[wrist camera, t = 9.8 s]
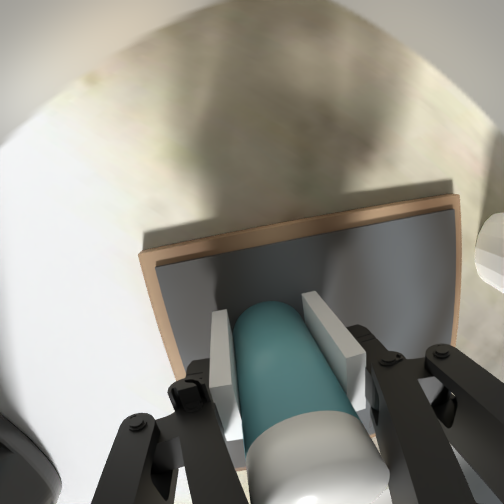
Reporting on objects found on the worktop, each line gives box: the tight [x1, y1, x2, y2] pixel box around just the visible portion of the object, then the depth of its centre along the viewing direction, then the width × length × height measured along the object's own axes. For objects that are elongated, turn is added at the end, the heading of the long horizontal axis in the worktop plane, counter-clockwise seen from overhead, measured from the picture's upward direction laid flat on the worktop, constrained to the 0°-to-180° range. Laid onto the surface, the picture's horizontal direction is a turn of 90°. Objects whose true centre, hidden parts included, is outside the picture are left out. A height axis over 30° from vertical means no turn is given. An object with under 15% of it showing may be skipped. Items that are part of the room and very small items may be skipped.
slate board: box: [138, 194, 462, 471], centre depth 19 cm, size 20×18×1 cm
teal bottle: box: [233, 301, 390, 504], centre depth 12 cm, size 4×4×11 cm
